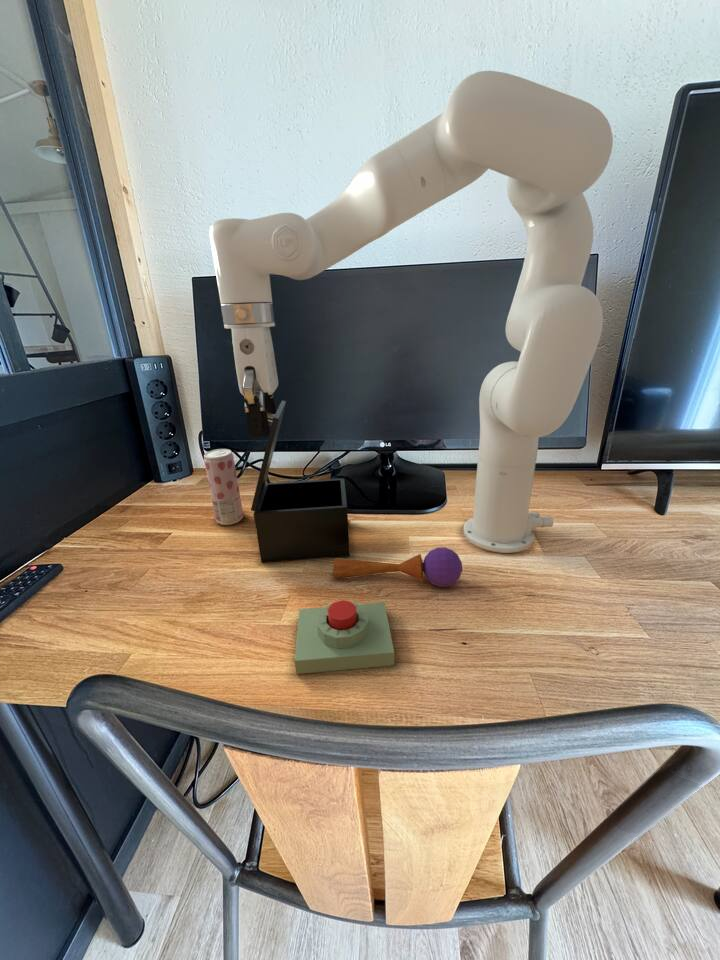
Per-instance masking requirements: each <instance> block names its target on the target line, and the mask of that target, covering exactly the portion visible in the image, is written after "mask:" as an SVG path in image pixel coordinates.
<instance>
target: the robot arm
mask: <svg viewBox="0 0 720 960" xmlns="http://www.w3.org/2000/svg"><path fill="white" fill-rule="evenodd" d="M613 137H614V135H613V132H612V126H611V124H610V122H609V120H608V118H607V117H606V116H605V114H604V113H603V111H601V110H600V109H599V108H597V107H596V106H594V105H593V104H592V103H590V102H587V101H585V100H583V99H580V98H579V97H575V96H573V95H569V94H568V93H564V92H561V91H559V90H556V89H554V88H551V87H548V86H546V85H543V84H541V83H537V82H535V81H532V80H529V79H527V78H524V77H521V76H518V75H514V74H510V73H507V72H502V71H495V70H481V71H476V72H474V73H471V74H470V75H468V76H466V77H465V78H464V79H462V80H461V81H460V82H459V83H458V85H457V86H456V87H455V89H453V91H452V93H451V95H450V97H449V98H448V101H447V103H446V106H445V108H444V110H443V112H441V113H440V114H439V115H437V116H435V117H434V118H432V119H431V120H429V121H427V122H426V123H424V124H423V125H421V126H420V127H418V128H416V129H414V130H413V131H412V132H410V133H408V134H407V135H405V136H403V137H402V138H400V139H398V140H396V141H395V142H394V143H392V144H391V145H389V146H387V147H385V148H384V149H382V150H380V151H378V152H376V153H375V154H374V155H372V156H370V158H369V159H367V160H366V161H365V162H364V163H363V164H362V166H361V167H360V168H359V169H358V171H357V172H356V174H355V175H354V176H353V178H352V180H350V182H349V184H348V185H347V186H346V188H345V189H344V190H343V191H342V192H341V193H340V194H339V195H338V196H337V197H336V198H335V199H334V200H333V201H331V202H330V203H329V204H327V205H326V206H325V207H323V208H321V209H320V210H319V211H317V212H316V213H314V214H312V215H311V216H309V217H307V218H306V219H305V218H304V217H303V216H302V215H300V214H297V213H295V212H294V213H293V212H279V213H274V214H270V215H267V216H262V217H257V218H252V219H248V218H239V217H238V218H224V219H222V218H221V219H219V220H216V221H214V222H213V223H211V226H210V228H209V241H210V245H211V252H212V258H213V265H214V270H215V271H214V272H215V276H216V283H217V289H218V296H219V303H220V309H221V314H222V315H221V316H222V322H223V327H224V329H227V330H229V329H230V330H231V339H232V341H231V342H232V347H233V349H232V350H233V357H234V363H235V364H234V365H235V371H236V379H237V383H238V384H237V385H238V389H239V393H240V394H241V395H242V396H243V397H244V398H243V401H244V413H245V421H246V426H247V434H248V437H250V438H259V437H269V433H270V425H269V423H268V420H272V421H273V419H271V418H268V416H267V413H271V414H274V415H275V413H276V411H277V410H276V409H277V408H276V402H275V397H274V393H275V391H277V388H278V387H279V378H278V376H279V375H278V370H277V365H276V358H275V356H276V355H275V351H274V343H273V339H272V334H271V329H270V328H271V327H275V326H276V323H275V322H276V320H275V312H274V311H275V310H274V304H273V296H272V286H271V278H270V275H277V276H284V277H288V278H290V279H292V280H297V281H304V280H305V281H306V280H309V279H311V278H313V277H315V276H317V275H319V274H321V273H323V272H324V271H326V270H327V269H329V268H332V267H333V266H335V265H336V264H338V263H340V262H342V261H343V260H345V259H347V258H348V257H350V256H351V255H353V254H354V253H356V252H357V251H359V250H361V249H363V248H364V247H365V246H367V245H369V244H371V243H373V242H374V241H376V240H379V239H380V238H382V237H383V236H386V234H388V233H389V232H391V231H392V230H394V229H395V228H397V227H399V226H401V225H402V224H403V223H405V222H407V221H409V220H411V219H413V218H414V217H416V216H417V215H418V214H421V213H422V212H425V210H428V209H429V208H431V207H433V206H434V205H436V204H438V203H440V202H441V201H443V200H445V199H447V198H449V197H451V196H452V195H454V194H456V193H457V192H459V191H461V190H463V189H464V188H466V187H468V186H469V185H471V184H472V183H474V182H476V181H477V180H478V179H480V178H481V177H482V176H483V175H484V174H485V173H486V172H487V171H488V170H491V171H494V172H496V173H498V174H501V175H503V176H506V177H507V178H506V179H507V181H506V193H507V197H508V199H509V202H510V204H511V206H512V207H513V209H514V210H515V211H516V213H517V214H518V215H519V217H520V219H521V221H522V222H523V224H524V227H525V231H526V235H527V236H526V239H527V244H526V252H525V255H524V260H523V264H522V269H521V271H520V275H519V278H518V282H517V285H516V288H515V292H514V295H513V299H512V301H511V304H510V309H509V311H508V315H507V316H506V317H507V318H506V322H505V329H504V330H505V331H504V332H505V337H506V340H507V341H508V344H509V345H510V346H511V347H512V348H514V349H515V350H516V351H518V352H520V355H519V357H518V361H516V360H515V361H514V360H513V361H506V362H503V363H500V364H497V365H496V366H495V367H494V368H492V369H491V370H490V371H489V372H488V373H487V375H486V376H485V377H484V379H483V381H482V383H481V386H480V390H479V395H478V396H479V399H478V410H479V439H478V440H479V442H478V454H477V463H476V464H477V465H476V479H475V487H474V500H473V501H474V502H473V512H472V517H470V518H468V519H467V520H466V521H465V522H464V524H463V530H462V531H463V535H464V537H465V538H466V540H467V541H468V542H469V543H471V544H472V545H474V546H476V547H477V548H480V549H482V550H486V551H488V552H494V553H500V554H513V553H519V552H522V551H525V550H527V549H529V548H530V547H531V546H532V545H533V543H534V540H535V532H534V530H535V531H536V530H537V528H550V527H551V528H552V527H553V526H554V520H553V517H552V516H540V513H539V512H538V511H535V512H530V503H531V497H532V492H533V491H532V490H533V483H534V478H535V471H536V463H537V459H538V458H537V457H538V451H539V438H542V437H546V436H548V435H550V434H552V433H554V432H555V431H558V429H559V428H560V427H562V425H563V424H564V423H565V422H566V420H567V419H568V418H569V417H570V414H571V412H572V411H573V408H574V406H575V404H576V401H577V399H578V397H579V395H580V391H581V390H582V387H583V384H584V382H585V379H586V377H587V375H588V372H589V369H590V366H591V364H592V361H593V358H594V356H595V353H596V351H597V349H598V346H599V342H600V339H601V336H602V333H603V332H602V331H603V325H604V324H603V323H604V313H603V308H602V304H601V302H600V300H599V298H598V297H597V295H596V294H595V293H594V292H593V291H592V290H591V289H589V288H587V287H585V286H582V283H583V280H584V277H585V273H586V270H587V267H588V264H589V260H590V256H591V253H592V249H593V244H594V243H593V242H594V223H593V217H592V213H591V210H590V207H589V204H588V202H587V200H586V197H585V195H584V192H587V190H589V189H590V188H591V187H592V186H593V185H595V183H596V182H597V181H598V180H599V178H600V177H601V176H602V174H603V173H604V172H605V169H606V168H607V166H608V163H609V162H610V159H611V156H612V152H613V151H612V150H613V145H614V140H613V139H614V138H613Z"/></svg>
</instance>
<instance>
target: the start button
mask: <svg viewBox="0 0 720 960" xmlns="http://www.w3.org/2000/svg"><path fill="white" fill-rule="evenodd" d="M349 601H350V600H344V599H343V600H337V601H335V602H332V603H333V604H332V603H330V604H331V605H330V604H329V605H330V607H329V608H328V618H329V624H330V626H331V627H332V628H333V629H336V630H339V631H340V630H348V629H350V628H352V627H353V626H354V625H355V624H356V621H357V615H356V607H355V605H354V604H353V603H352V602H353V601H350V602H349Z"/></svg>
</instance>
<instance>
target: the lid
mask: <svg viewBox="0 0 720 960" xmlns="http://www.w3.org/2000/svg"><path fill="white" fill-rule="evenodd" d="M286 404H287V401H286V400H281V402H280V403H279V405H278V407H277V408H276V409H277V410H276V413H275V415H274V414H271V413H267V416H268V418H271V419H273V421H272V420H268V423H269V426H270V428H269V431H270V433H269V436H267V437H268V438H267V443H266V446H265V450H264V454H263V458H262V462H261V467H260V471H259V474H258V479H257V483H256V486H255V491H254V495H253V499H252V503H251V506H250V507H251V508H250V511H252V512H254V511H256V509H257V506H258V503H259V500H260V497H261V495H262V492H263V489H264V486H265V483H267V480H268V476H269V472H270V467H271V464H272V460H273V456H274V451H275V449H276V445H277V440H278V436H279V432H280V428H281V424H282V420H283V416H284V413H285V408H286Z"/></svg>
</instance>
